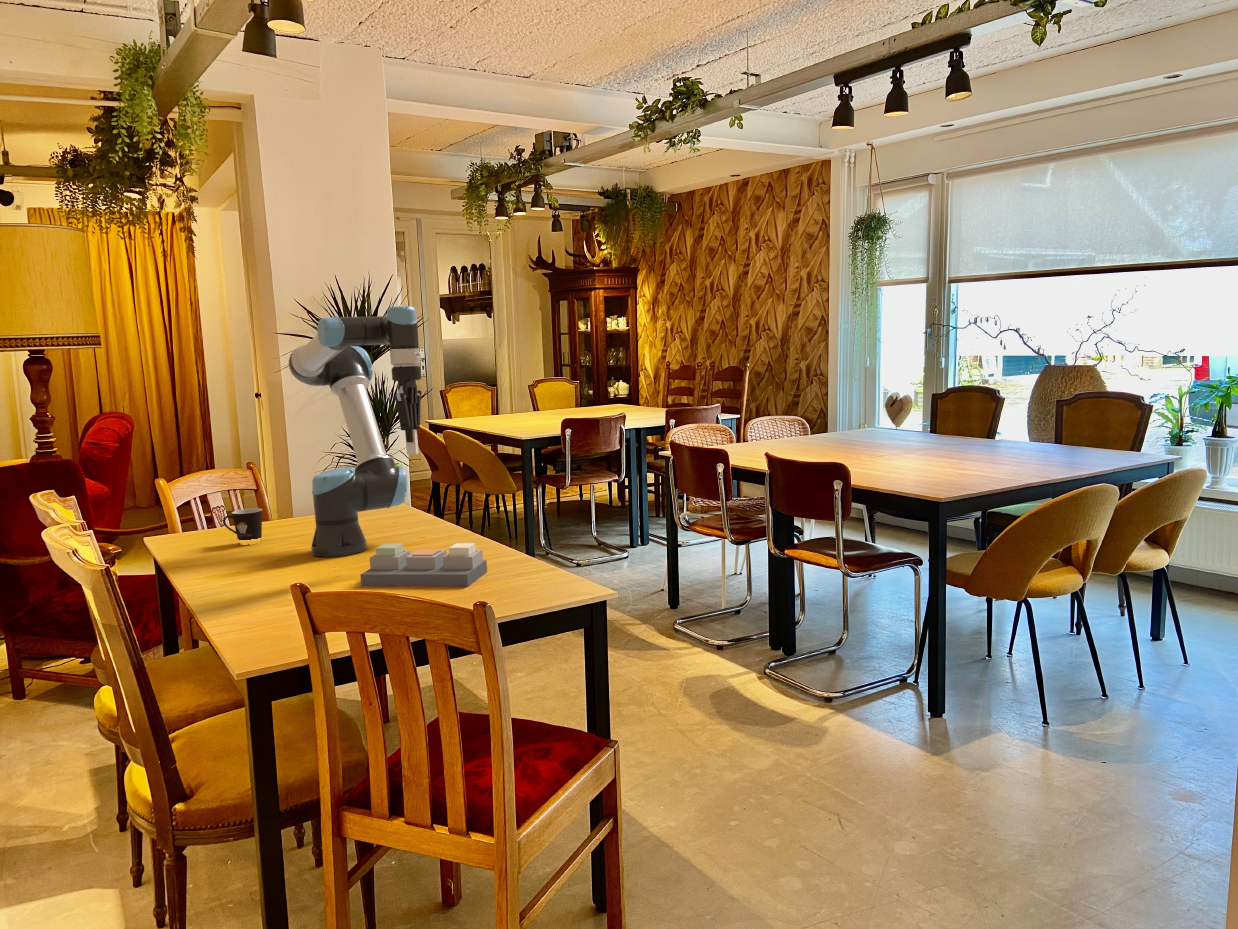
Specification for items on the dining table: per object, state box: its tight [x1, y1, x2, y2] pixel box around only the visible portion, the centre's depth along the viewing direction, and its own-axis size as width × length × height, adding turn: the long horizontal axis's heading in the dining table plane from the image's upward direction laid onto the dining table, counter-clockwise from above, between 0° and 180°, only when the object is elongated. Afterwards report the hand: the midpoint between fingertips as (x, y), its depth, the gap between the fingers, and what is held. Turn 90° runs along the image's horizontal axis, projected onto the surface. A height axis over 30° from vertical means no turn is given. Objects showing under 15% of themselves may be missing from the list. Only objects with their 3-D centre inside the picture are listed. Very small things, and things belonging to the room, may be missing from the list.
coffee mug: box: [222, 508, 263, 540], centre depth 272 cm, size 12×9×10 cm
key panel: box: [359, 549, 488, 588], centre depth 217 cm, size 27×14×6 cm, turn 80°
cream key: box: [448, 542, 477, 556], centre depth 217 cm, size 5×5×3 cm
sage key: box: [375, 543, 405, 557], centre depth 220 cm, size 5×5×3 cm
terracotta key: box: [412, 549, 441, 556], centre depth 219 cm, size 5×5×3 cm
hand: (412, 454), depth 237 cm, fingers closed
